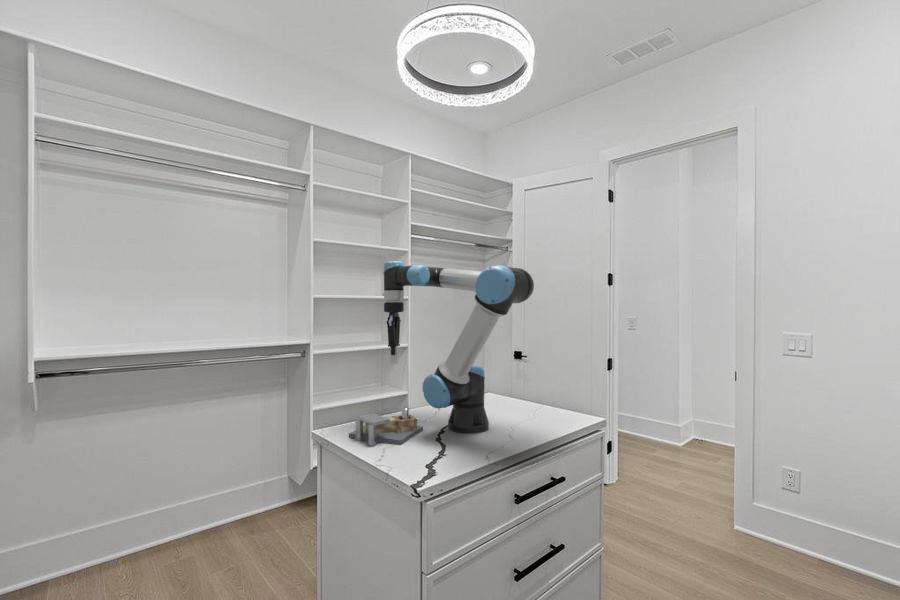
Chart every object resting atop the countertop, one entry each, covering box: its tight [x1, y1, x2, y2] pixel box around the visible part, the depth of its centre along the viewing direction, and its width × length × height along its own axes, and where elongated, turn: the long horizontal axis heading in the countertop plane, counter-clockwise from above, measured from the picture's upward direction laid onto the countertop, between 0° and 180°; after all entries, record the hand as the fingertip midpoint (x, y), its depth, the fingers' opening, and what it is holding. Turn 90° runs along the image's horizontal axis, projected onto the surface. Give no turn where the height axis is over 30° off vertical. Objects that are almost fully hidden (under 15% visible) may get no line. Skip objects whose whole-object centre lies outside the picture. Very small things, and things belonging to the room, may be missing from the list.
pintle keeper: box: [355, 407, 410, 447], centre depth 152 cm, size 13×19×8 cm
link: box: [365, 413, 418, 435], centre depth 155 cm, size 17×7×4 cm, turn 115°
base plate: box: [348, 424, 424, 446], centre depth 155 cm, size 20×17×2 cm
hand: (394, 363), depth 170 cm, fingers closed
